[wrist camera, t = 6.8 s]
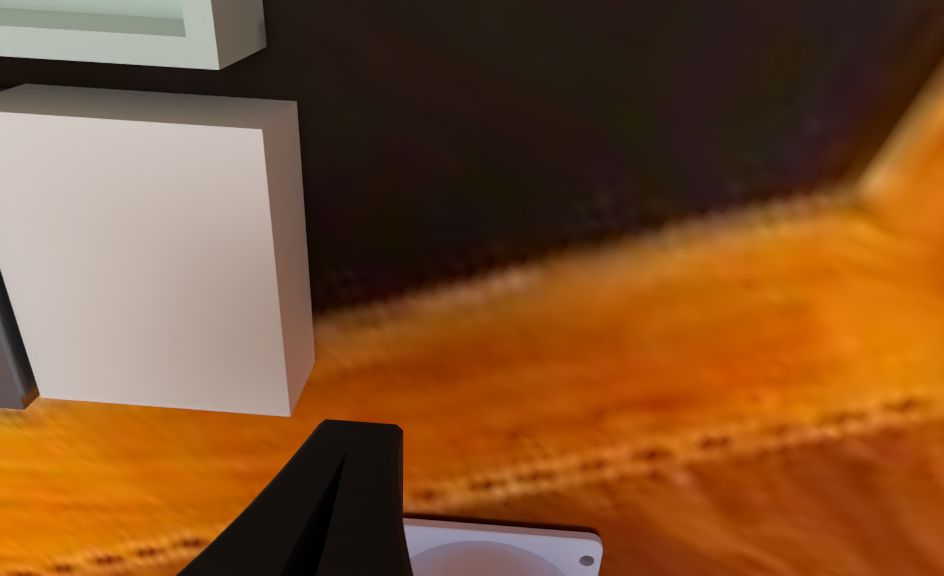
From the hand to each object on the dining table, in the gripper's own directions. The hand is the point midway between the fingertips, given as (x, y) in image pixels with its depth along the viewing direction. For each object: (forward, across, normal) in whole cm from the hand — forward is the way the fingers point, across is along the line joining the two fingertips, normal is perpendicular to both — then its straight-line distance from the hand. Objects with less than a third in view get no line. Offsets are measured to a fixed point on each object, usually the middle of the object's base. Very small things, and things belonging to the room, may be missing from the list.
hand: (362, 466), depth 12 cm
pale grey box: (+9, +7, 0) cm, 11 cm away
